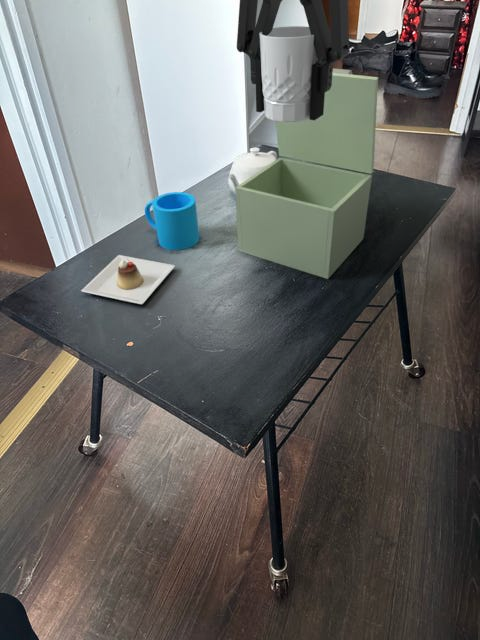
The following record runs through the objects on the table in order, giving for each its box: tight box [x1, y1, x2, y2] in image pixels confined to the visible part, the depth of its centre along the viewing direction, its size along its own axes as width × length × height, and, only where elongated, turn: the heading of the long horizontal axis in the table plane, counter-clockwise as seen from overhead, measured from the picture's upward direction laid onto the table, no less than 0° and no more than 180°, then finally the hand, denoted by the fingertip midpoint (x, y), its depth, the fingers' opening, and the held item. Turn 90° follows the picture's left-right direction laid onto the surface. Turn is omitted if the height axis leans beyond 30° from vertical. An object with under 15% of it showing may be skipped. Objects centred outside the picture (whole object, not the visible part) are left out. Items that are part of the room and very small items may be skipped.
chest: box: [235, 156, 373, 280], centre depth 87 cm, size 16×19×13 cm
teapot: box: [227, 147, 278, 195], centre depth 106 cm, size 20×12×10 cm, turn 148°
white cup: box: [259, 25, 318, 122], centre depth 63 cm, size 8×8×10 cm
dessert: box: [80, 254, 176, 305], centre depth 82 cm, size 12×12×5 cm
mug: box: [144, 191, 200, 251], centre depth 93 cm, size 12×8×8 cm
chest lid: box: [274, 67, 379, 175], centre depth 82 cm, size 16×19×6 cm
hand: (289, 112), depth 66 cm, fingers closed on white cup, 8 cm apart
